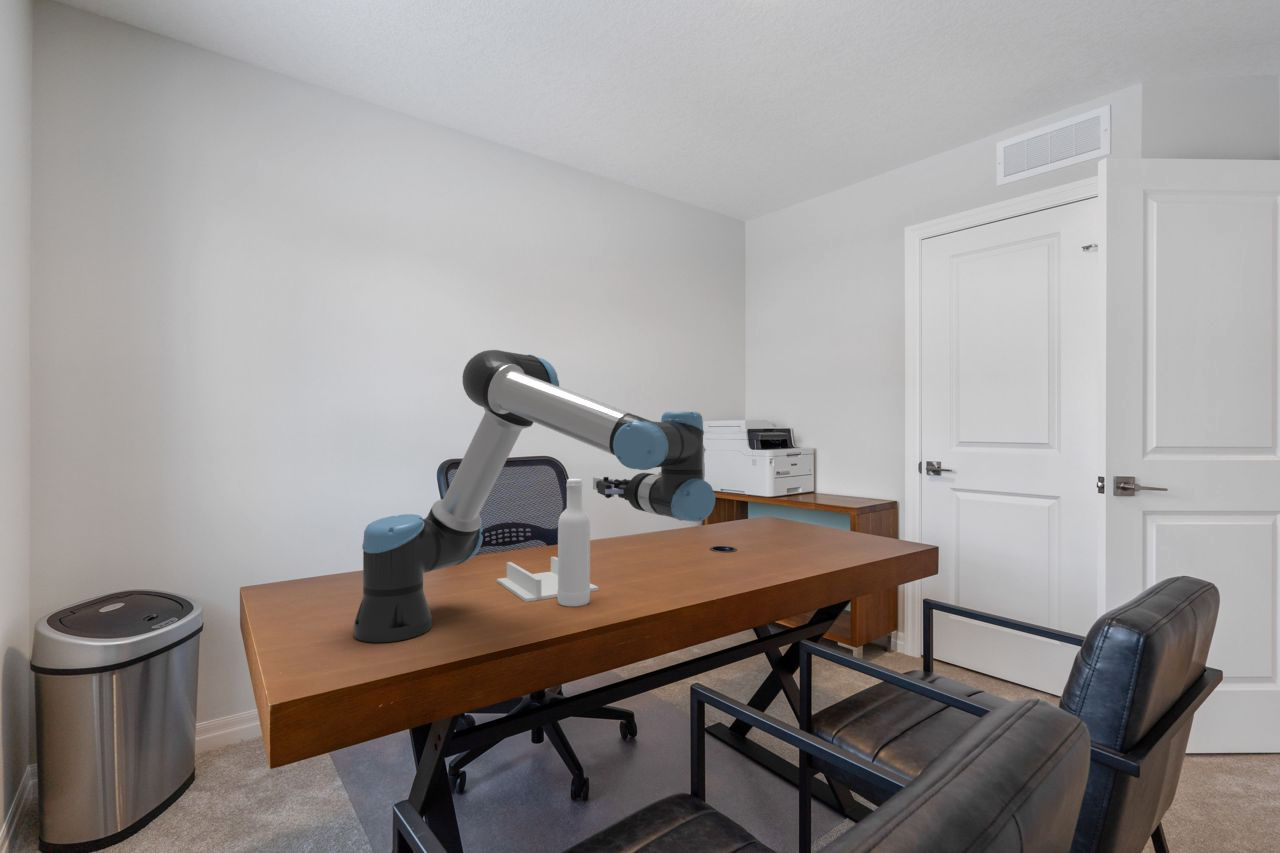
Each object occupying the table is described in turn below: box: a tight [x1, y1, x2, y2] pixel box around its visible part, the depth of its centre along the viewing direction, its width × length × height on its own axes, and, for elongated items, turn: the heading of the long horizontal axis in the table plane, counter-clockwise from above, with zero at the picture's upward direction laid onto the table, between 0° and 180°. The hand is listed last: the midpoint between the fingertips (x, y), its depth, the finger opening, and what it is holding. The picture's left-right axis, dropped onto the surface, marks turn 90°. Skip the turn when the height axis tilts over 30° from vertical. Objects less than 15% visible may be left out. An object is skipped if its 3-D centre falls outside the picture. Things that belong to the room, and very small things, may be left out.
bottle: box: [557, 478, 591, 607], centre depth 145 cm, size 8×8×30 cm
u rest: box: [496, 556, 600, 603], centre depth 159 cm, size 22×20×5 cm
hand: (596, 483), depth 135 cm, fingers closed
